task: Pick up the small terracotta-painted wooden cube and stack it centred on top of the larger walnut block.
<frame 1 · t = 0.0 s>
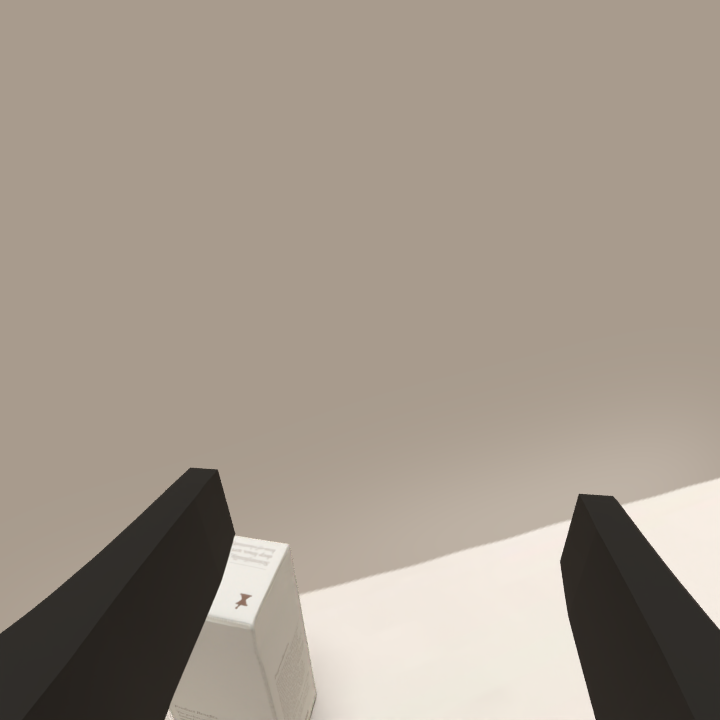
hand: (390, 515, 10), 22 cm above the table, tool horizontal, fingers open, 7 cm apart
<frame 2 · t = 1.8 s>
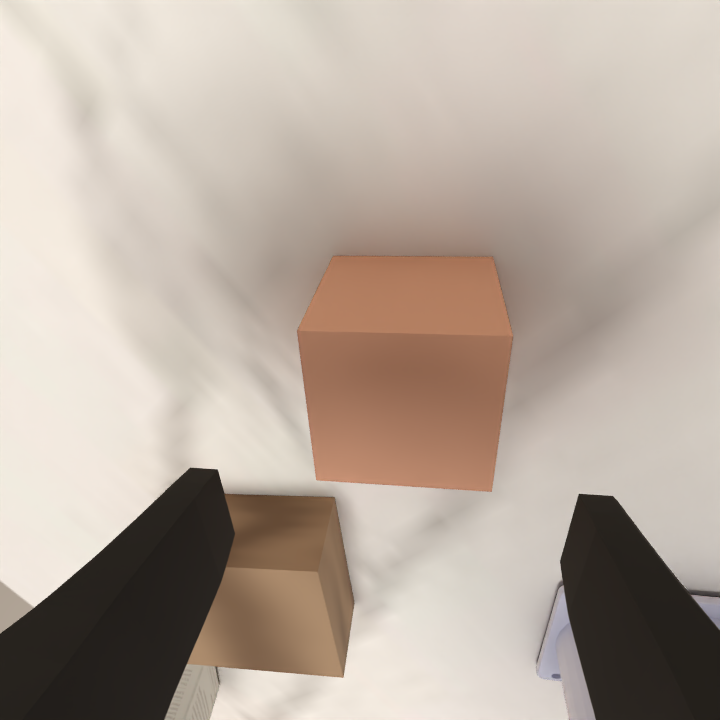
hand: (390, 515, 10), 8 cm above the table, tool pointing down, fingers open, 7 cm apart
walnut block: (268, 546, 25), on the table
skincare box: (190, 656, 32), on the table
terracotta cube: (410, 325, 17), on the table
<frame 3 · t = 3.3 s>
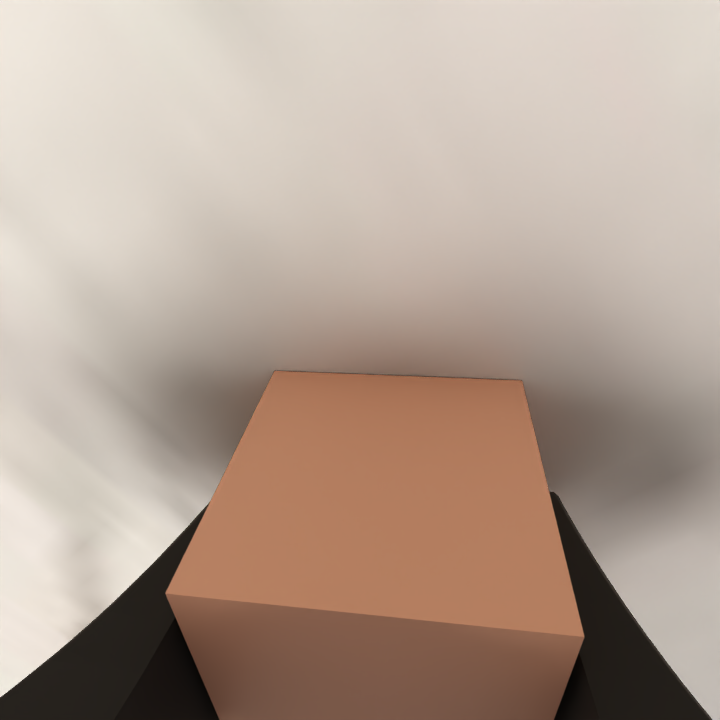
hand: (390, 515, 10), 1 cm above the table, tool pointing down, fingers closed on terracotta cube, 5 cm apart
terracotta cube: (394, 465, 11), on the table, touching gripper
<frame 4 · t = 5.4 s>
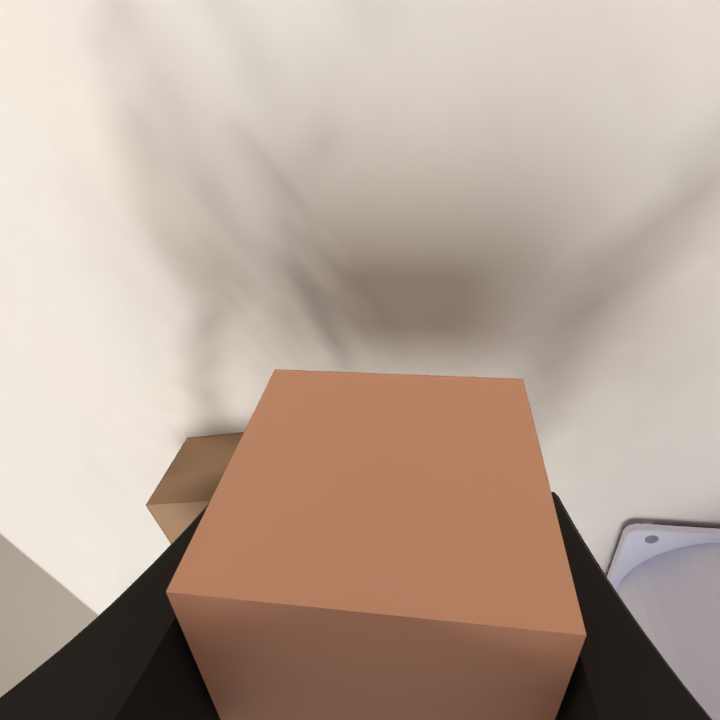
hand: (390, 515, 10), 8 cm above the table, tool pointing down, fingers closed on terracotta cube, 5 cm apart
walnut block: (300, 491, 23), on the table
terracotta cube: (395, 464, 11), point 7 cm above the table, touching gripper
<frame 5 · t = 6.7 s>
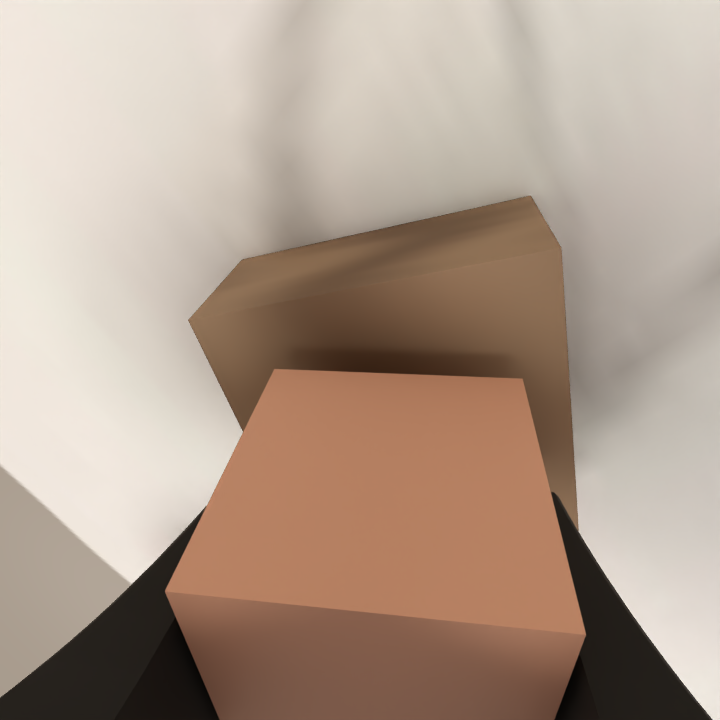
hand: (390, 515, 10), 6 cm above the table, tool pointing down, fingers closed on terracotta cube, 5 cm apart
walnut block: (407, 349, 16), on the table
terracotta cube: (394, 463, 11), point 5 cm above the table, touching gripper
when the fingers open (6 cm above the table, at t = 7.6 s): terracotta cube stays where it is, point 4 cm above the table.
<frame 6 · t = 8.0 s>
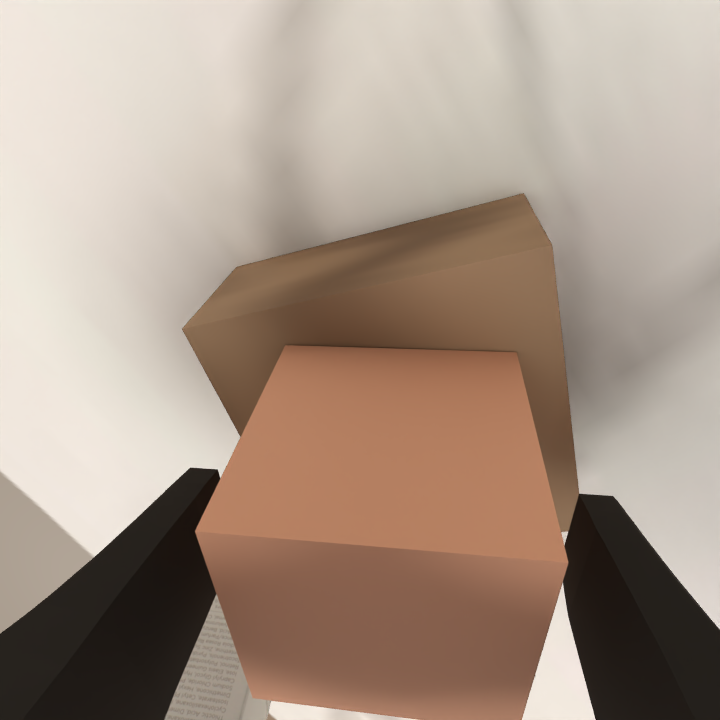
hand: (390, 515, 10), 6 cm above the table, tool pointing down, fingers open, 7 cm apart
walnut block: (406, 351, 16), on the table
skincare box: (251, 570, 23), on the table
terracotta cube: (397, 435, 12), point 4 cm above the table
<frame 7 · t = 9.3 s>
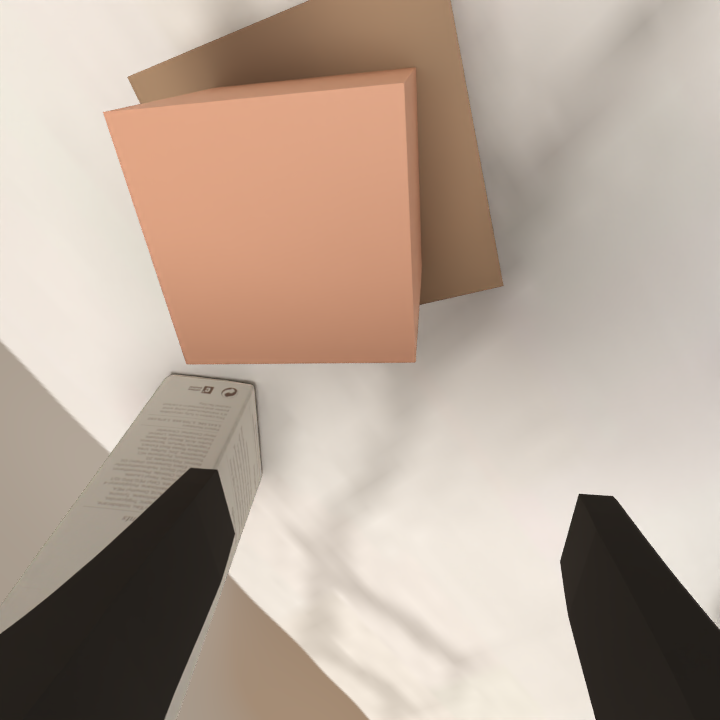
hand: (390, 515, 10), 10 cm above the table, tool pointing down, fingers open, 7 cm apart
walnut block: (349, 157, 17), on the table, touching terracotta cube
skincare box: (223, 426, 24), on the table
terracotta cube: (325, 184, 13), point 4 cm above the table, touching walnut block
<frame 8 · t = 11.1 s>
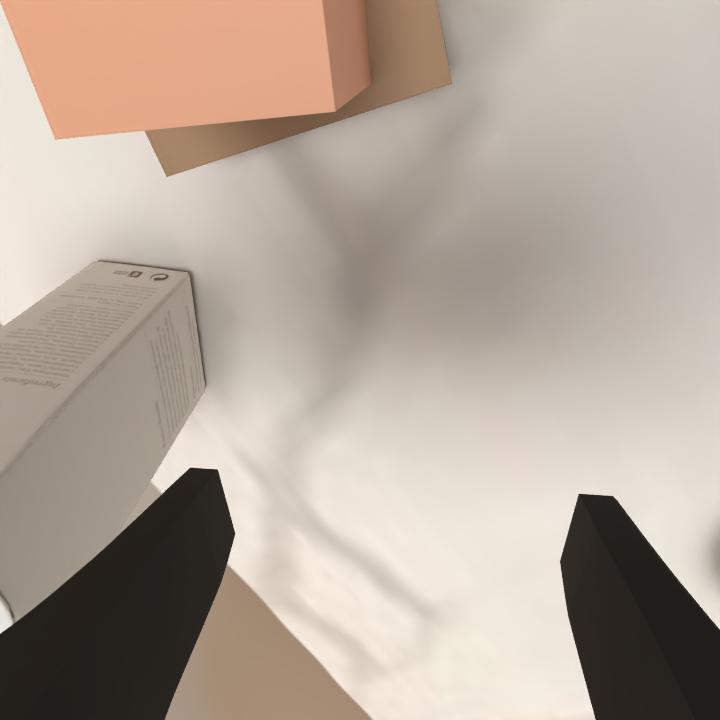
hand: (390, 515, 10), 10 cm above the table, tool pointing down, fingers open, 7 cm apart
skincare box: (161, 328, 22), on the table
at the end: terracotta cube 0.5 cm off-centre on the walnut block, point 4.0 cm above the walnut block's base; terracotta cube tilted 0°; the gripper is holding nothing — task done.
